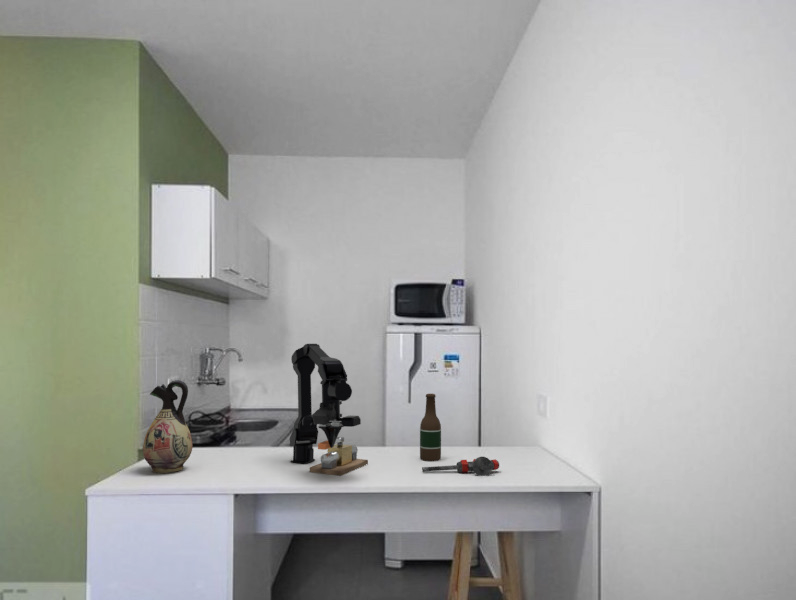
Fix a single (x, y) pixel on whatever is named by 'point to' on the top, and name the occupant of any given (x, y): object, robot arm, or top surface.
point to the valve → (470, 466)
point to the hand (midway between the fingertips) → (331, 447)
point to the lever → (325, 444)
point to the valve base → (339, 468)
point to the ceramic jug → (168, 432)
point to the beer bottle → (430, 432)
